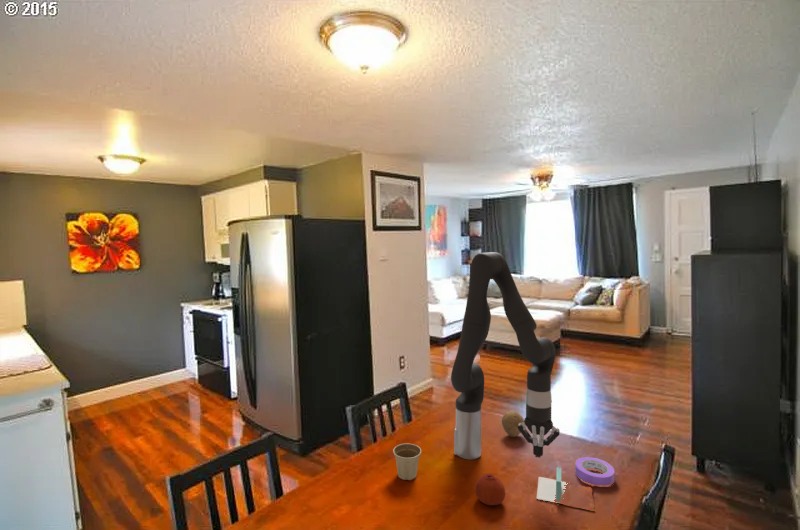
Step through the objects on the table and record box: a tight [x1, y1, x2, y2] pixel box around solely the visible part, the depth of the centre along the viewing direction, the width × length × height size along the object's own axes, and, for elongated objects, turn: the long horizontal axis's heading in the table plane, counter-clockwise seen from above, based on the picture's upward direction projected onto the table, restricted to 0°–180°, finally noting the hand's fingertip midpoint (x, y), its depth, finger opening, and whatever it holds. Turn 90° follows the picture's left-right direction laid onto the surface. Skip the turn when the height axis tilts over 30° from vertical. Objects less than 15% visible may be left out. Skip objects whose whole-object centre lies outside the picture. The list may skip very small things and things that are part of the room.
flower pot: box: [392, 442, 422, 481], centre depth 137 cm, size 9×9×9 cm
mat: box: [536, 476, 568, 503], centre depth 126 cm, size 16×12×1 cm
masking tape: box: [574, 456, 616, 485], centre depth 134 cm, size 12×12×4 cm
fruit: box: [474, 473, 506, 506], centre depth 122 cm, size 9×9×8 cm
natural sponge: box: [501, 410, 525, 438], centre depth 162 cm, size 9×9×10 cm
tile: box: [555, 466, 562, 501], centre depth 126 cm, size 1×8×6 cm, turn 158°
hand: (538, 456), depth 128 cm, fingers closed
